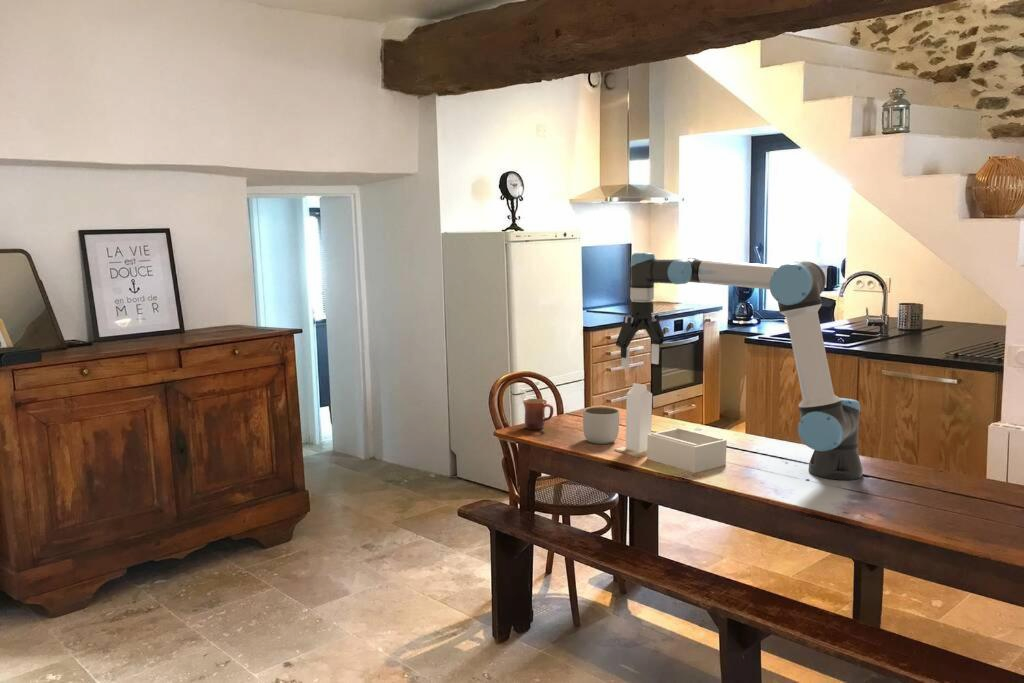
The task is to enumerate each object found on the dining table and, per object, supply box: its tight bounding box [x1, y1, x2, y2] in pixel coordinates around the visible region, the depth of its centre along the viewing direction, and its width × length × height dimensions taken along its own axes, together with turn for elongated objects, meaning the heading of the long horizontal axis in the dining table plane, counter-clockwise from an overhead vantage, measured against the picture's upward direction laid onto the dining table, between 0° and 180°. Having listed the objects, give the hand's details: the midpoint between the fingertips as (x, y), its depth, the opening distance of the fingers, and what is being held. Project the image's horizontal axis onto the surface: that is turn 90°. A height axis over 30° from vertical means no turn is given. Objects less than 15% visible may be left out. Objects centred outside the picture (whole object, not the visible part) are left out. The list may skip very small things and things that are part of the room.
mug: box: [522, 398, 554, 431], centre depth 304 cm, size 12×9×10 cm
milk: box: [625, 382, 653, 453], centre depth 272 cm, size 6×6×22 cm
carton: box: [646, 427, 728, 474], centre depth 261 cm, size 20×15×8 cm
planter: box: [582, 406, 620, 445], centre depth 286 cm, size 12×12×11 cm
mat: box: [614, 445, 647, 459], centre depth 274 cm, size 11×11×1 cm
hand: (640, 365), depth 270 cm, fingers open, 13 cm apart
